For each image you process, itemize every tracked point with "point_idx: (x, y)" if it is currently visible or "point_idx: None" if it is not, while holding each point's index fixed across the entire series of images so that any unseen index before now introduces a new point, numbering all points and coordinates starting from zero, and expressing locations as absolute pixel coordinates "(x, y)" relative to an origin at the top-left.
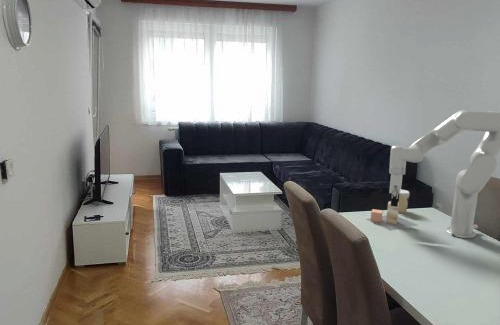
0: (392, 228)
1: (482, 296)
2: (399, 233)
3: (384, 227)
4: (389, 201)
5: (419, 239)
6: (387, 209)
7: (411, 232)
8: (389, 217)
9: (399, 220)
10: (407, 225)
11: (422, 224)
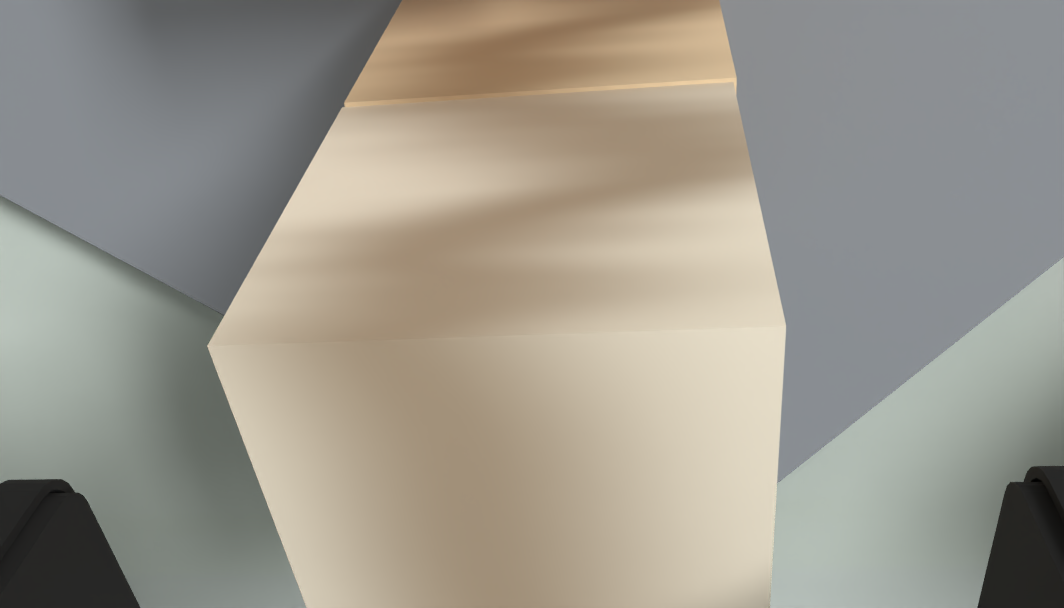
0: (105, 191)
1: None
2: (77, 304)
3: (7, 14)
4: (755, 359)
5: None
6: (296, 189)
7: None
8: None
9: (801, 261)
10: None
11: (865, 577)
